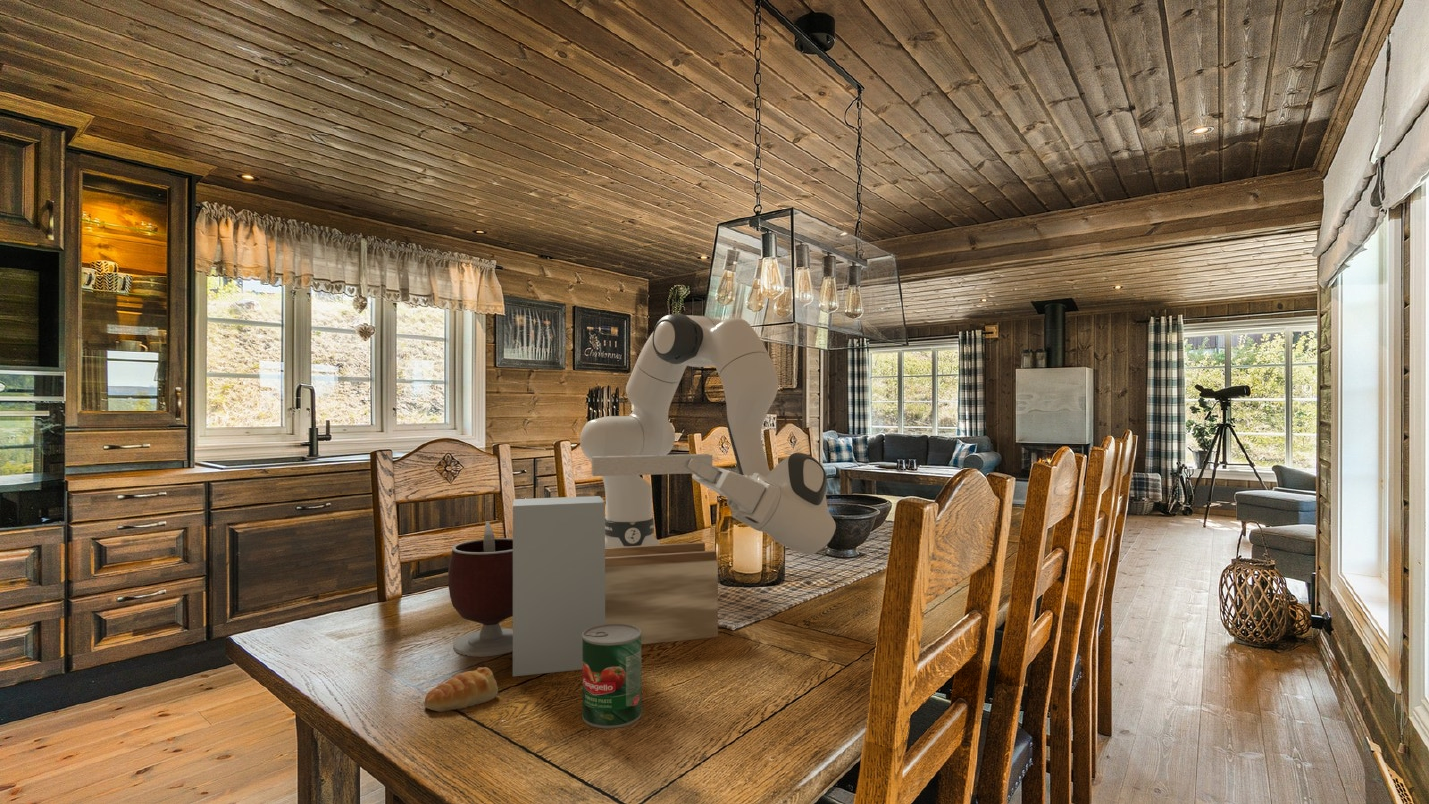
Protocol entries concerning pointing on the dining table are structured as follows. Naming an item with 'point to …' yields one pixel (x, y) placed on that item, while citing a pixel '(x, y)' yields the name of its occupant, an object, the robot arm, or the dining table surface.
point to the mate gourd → (483, 592)
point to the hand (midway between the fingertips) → (685, 461)
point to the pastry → (463, 691)
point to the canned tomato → (611, 675)
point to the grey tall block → (556, 580)
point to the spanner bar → (646, 464)
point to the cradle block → (663, 591)
